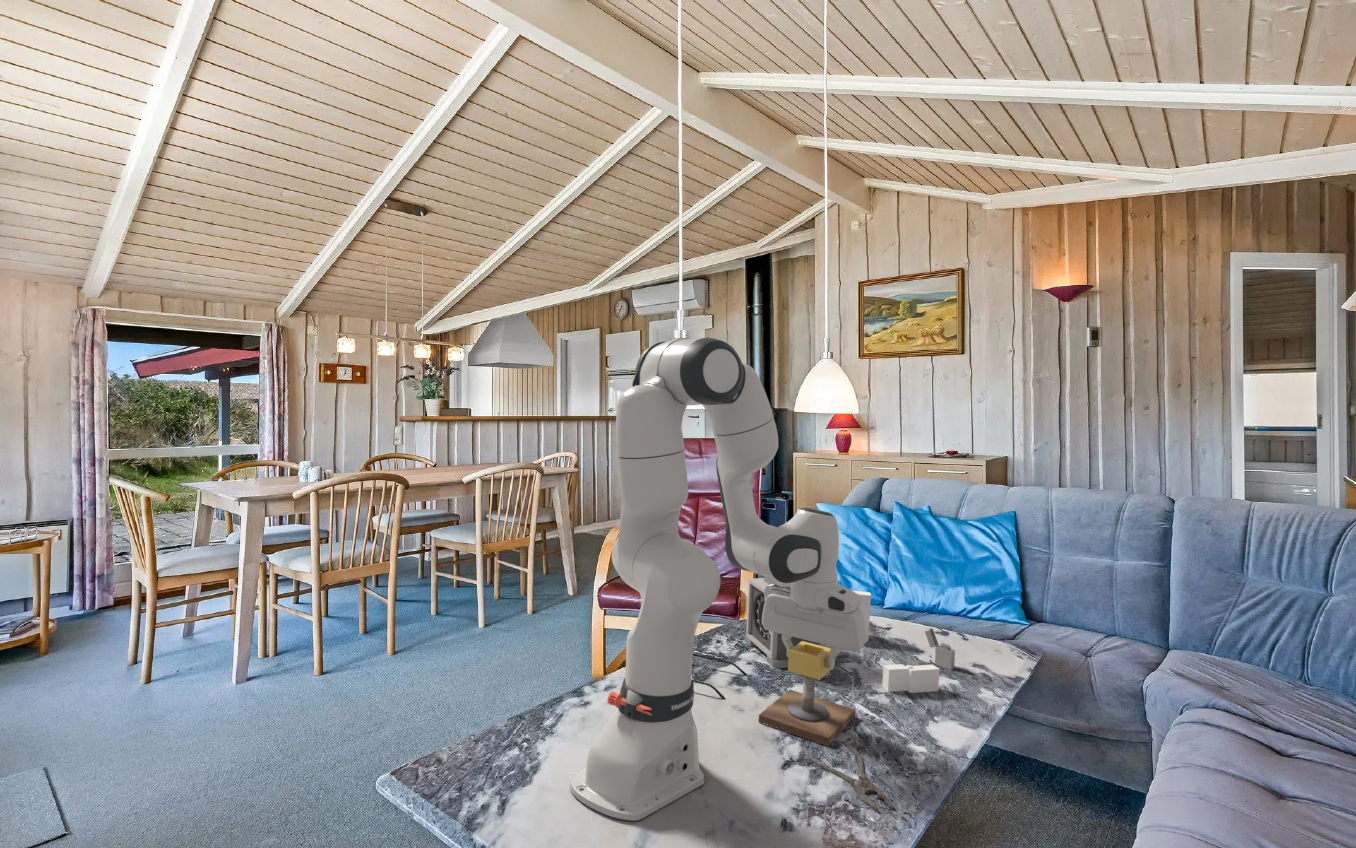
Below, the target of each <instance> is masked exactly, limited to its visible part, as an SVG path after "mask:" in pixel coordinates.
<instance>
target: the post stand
mask: <svg viewBox="0 0 1356 848" xmlns="http://www.w3.org/2000/svg"><path fill="white" fill-rule="evenodd" d="M802 682H803V683H802V692H800V691H796V690H793V689H789V690H787V691H786V692H785V693H784V694H782V695H781V696H780V697H779V698H778V699H776V700H775V701H774V702H773V703H772V704H770V705H768V707H767V708H766V709H764V710H763V711H761V713H759V715H758V723H759V722H762V723H765V724H768V725H771V726H773V727H777V728H779V729H781V730H780V731H782V730H783V731H782V732H785V731H787V732H786V733H788V732H789V734H791V735H794V736H797V737H800V738H802V737H803V739H805V740H808V741H812V742H814V741H815V742H814V743H818V744H821V745H824V746H826V747H829V746H830V745H831V744H832V743H833V741H835V739H836V738H837V737H838V736H839V735H840V734H841V733H842V732H843V731H844V730H845V728H846V727H847V726H848V725H849V724H850V723H851V722H850V721H853V719H854V718H855V716H856V709H855V708H851V707H849V706H846V705H841V704H839V703H836V702H832V701H829V700H826V699H823V698H819V697H815V686H816V680H815V679H814V678H811V677H807V676H804V678H803V681H802ZM849 722H850V723H849ZM762 723H761V724H762ZM765 724H764V725H765ZM847 724H848V725H847ZM768 725H767V726H768ZM771 726H770V727H771ZM773 727H772V728H773ZM779 729H778V730H779ZM841 731H842V732H841Z"/></svg>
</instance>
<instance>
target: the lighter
mask: <svg viewBox="0 0 1356 848" xmlns="http://www.w3.org/2000/svg"><path fill="white" fill-rule="evenodd" d="M924 633H925V637H926V639H927V642H928V644H929V647H930V648H935V652H934V654H935V655H934V665H935V664H937V665H936V666H938V665H939V666H938V667H941V666H943V667H942V668H944V667H945V668H944V669H947V668H948V669H947V670H950V669H952V670H954V669H955V662H956V661H955V659H956V658H955V657H956V650H955V649H952V647H951V646H950V644H947V643H944V642H942V643H940V644H939V642H938V639H937V636H936V633H935V632H934V628H933V627H932V628H931V627H930V628H927V629H924Z"/></svg>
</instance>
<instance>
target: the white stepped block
mask: <svg viewBox="0 0 1356 848" xmlns="http://www.w3.org/2000/svg"><path fill="white" fill-rule="evenodd" d="M939 681H940V668H939V667H938V666H937V665H936V666H935V664H923V665H911V664H906V665H905V664H902V663H900V664H899V663H898V664H886V665H885V664H884V665H883V669H882V686H881V687H882V689H884V690H885V691H886V692H887V693H888V692H889V693H890V692H891V693H892V692H893V693H894V692H904V691H905V692H906V691H907V692H908V693H910V694H913V693H929V692H939V687H940V686H939V683H940V682H939Z"/></svg>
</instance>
